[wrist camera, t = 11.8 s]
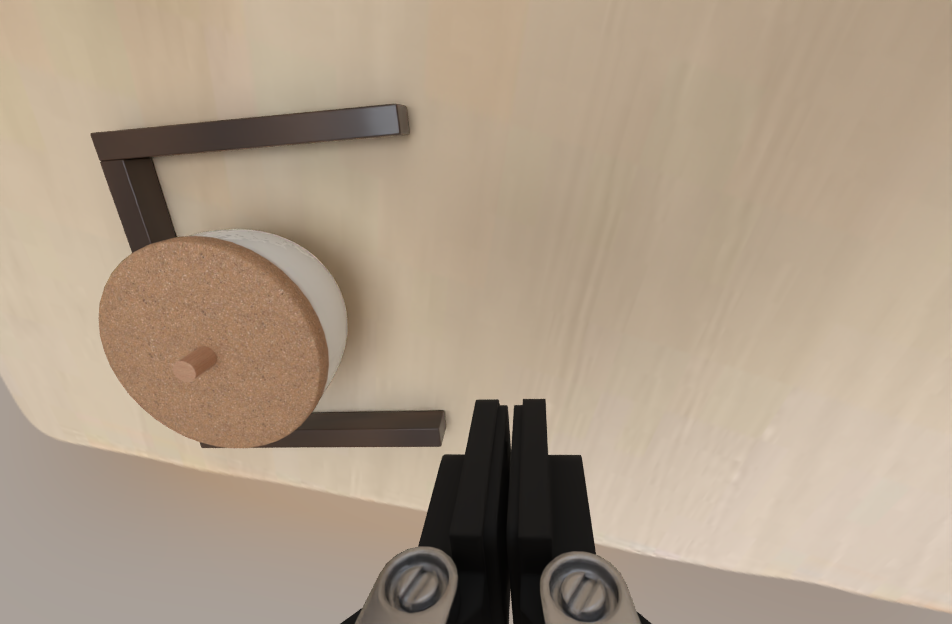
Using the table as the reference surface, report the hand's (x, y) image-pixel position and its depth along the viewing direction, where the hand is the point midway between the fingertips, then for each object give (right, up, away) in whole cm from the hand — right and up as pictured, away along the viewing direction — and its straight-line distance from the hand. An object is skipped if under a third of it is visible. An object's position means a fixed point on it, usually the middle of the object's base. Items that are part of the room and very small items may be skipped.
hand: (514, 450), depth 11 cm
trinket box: (-13, +4, +17) cm, 22 cm away
